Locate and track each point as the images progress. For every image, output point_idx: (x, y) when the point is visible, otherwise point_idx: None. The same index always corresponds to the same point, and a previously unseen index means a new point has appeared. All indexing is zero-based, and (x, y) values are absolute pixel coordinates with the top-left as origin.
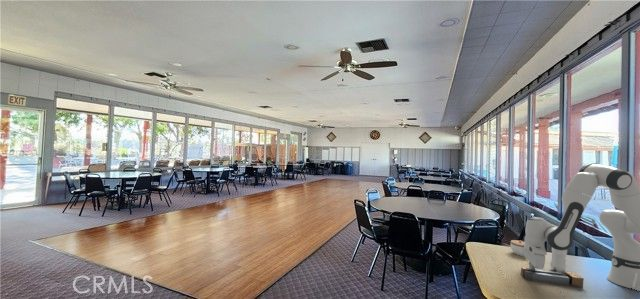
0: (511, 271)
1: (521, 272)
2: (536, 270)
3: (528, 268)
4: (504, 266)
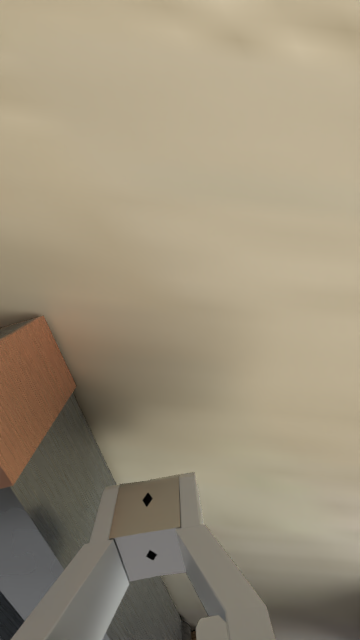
0: (97, 186)
1: (6, 333)
2: (17, 589)
3: (9, 496)
4: (288, 75)
